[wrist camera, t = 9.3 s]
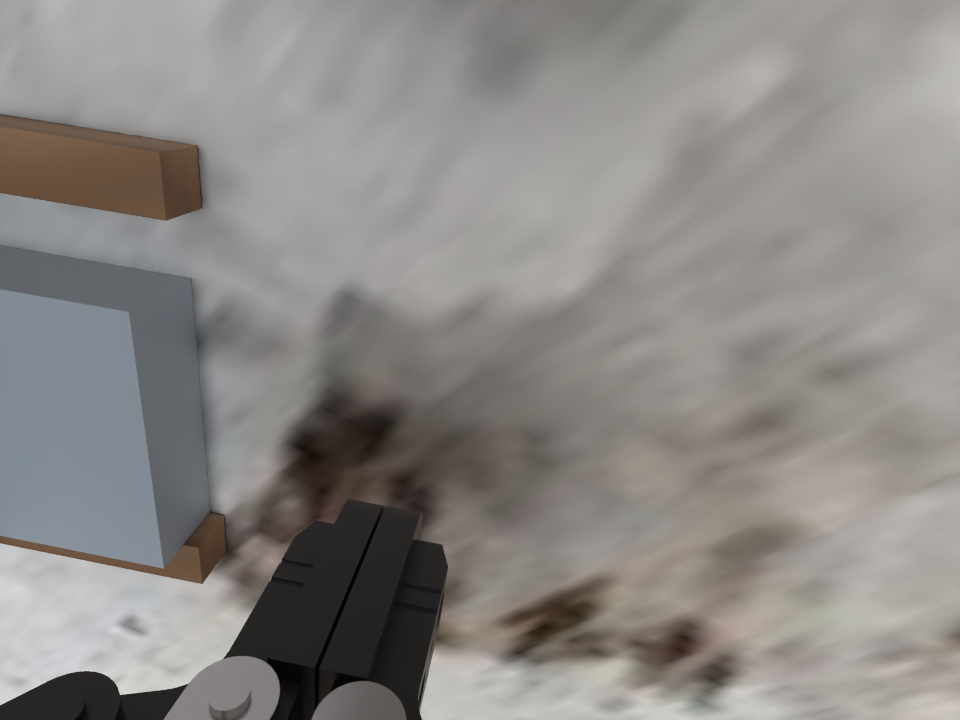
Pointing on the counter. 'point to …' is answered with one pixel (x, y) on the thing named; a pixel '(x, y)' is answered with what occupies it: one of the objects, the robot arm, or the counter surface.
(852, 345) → the counter surface
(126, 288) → the panel
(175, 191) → the wooden frame
